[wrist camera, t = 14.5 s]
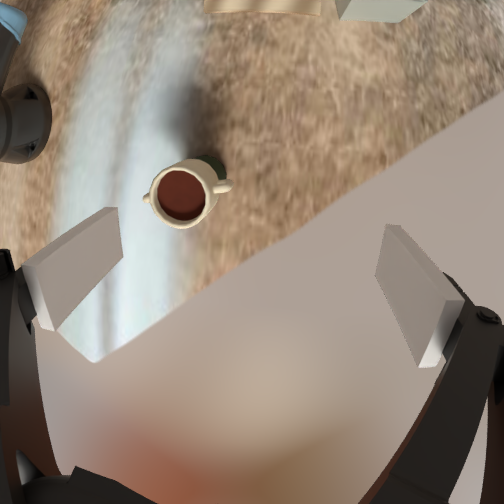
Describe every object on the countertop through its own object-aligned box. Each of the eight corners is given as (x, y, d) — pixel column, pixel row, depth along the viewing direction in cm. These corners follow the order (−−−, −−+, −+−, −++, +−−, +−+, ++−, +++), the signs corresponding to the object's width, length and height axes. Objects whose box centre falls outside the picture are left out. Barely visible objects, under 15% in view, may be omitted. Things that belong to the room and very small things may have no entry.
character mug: (176, 203, 47) (141, 233, 35) (167, 158, 44) (128, 174, 32) (246, 195, 46) (232, 223, 34) (239, 146, 43) (222, 157, 31)
